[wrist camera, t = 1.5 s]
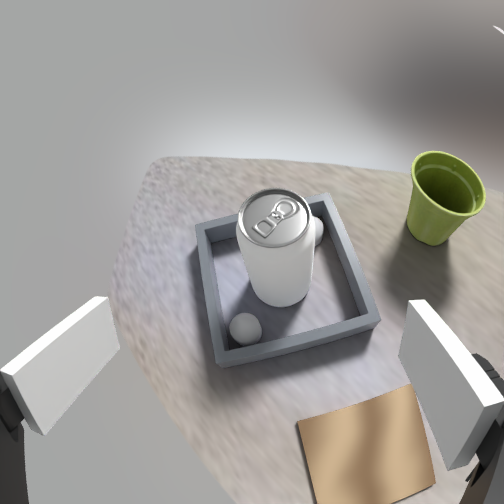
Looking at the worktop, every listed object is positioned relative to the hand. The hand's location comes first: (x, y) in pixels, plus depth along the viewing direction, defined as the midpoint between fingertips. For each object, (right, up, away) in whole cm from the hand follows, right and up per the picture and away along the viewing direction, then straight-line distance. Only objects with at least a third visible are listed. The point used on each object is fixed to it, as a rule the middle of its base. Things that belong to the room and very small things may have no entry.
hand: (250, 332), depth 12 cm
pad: (+11, -16, +11) cm, 23 cm away
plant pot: (+22, +7, +22) cm, 32 cm away
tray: (+3, 0, +21) cm, 22 cm away
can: (+3, 0, +22) cm, 22 cm away
